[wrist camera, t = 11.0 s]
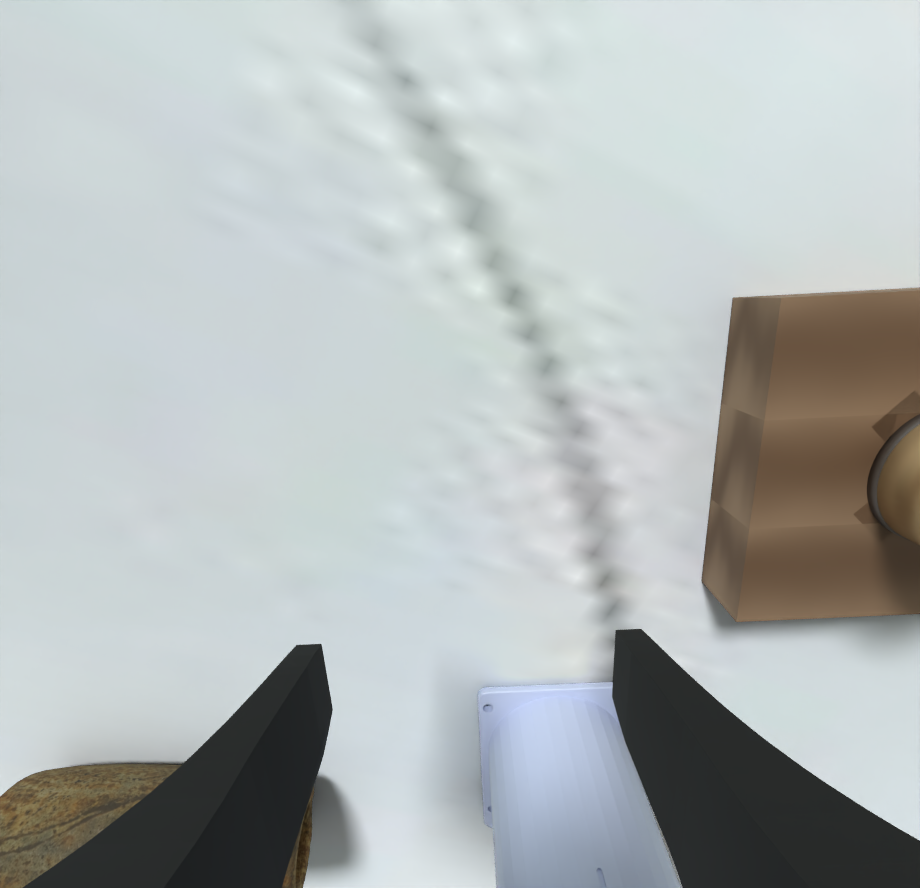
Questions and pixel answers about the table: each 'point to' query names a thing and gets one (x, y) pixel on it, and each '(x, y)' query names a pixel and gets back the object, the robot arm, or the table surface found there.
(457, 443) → the table surface
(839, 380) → the board
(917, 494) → the peg
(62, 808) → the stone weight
